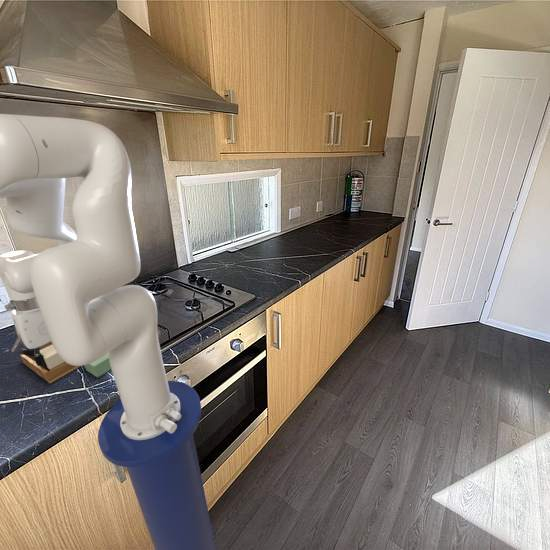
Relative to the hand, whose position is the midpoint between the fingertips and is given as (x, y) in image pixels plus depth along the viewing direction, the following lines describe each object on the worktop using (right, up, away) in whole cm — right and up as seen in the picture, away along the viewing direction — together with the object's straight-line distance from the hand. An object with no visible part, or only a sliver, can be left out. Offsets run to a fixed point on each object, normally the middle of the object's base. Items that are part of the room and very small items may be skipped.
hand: (56, 358), depth 79 cm
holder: (-3, -2, +3) cm, 5 cm away
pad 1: (0, 0, 0) cm, 1 cm away
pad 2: (+12, -3, +1) cm, 12 cm away
